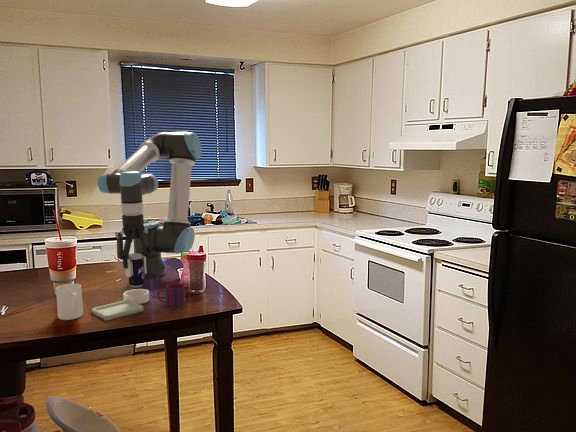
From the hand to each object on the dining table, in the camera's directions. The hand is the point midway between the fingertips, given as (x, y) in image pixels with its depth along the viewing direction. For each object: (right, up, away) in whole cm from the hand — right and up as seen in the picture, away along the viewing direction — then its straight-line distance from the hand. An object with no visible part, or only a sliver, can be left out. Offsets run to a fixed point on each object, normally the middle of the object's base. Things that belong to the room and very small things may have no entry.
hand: (136, 274), depth 191 cm
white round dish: (0, -10, +1) cm, 10 cm away
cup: (+14, -11, -3) cm, 18 cm away
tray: (-3, -12, -12) cm, 17 cm away
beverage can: (0, -5, +1) cm, 5 cm away
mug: (-17, -13, -18) cm, 27 cm away
